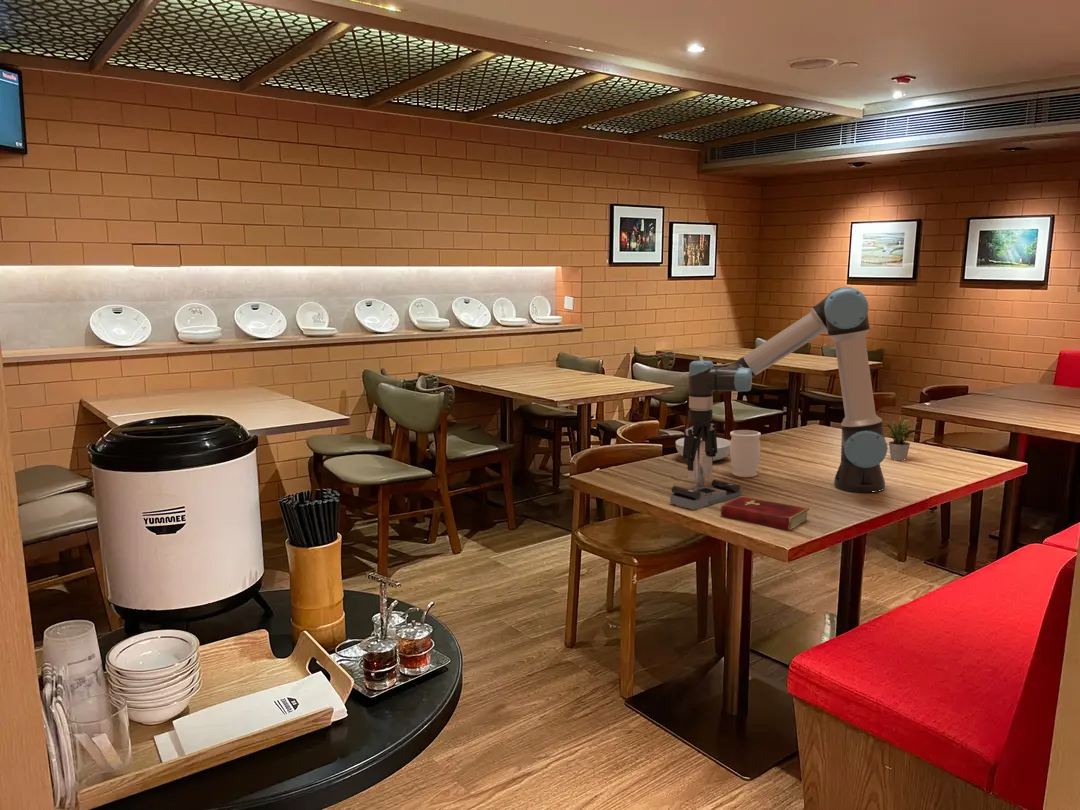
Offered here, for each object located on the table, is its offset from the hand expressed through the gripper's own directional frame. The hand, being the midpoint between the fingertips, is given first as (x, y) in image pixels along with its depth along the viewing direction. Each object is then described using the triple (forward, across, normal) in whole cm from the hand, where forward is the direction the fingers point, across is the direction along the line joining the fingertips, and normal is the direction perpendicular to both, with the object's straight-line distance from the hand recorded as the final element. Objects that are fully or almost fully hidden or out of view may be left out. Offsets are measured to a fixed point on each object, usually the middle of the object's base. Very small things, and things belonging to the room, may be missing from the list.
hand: (700, 477), depth 250 cm
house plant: (+4, -82, +24) cm, 86 cm away
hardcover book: (+4, +12, +33) cm, 35 cm away
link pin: (+4, 0, 0) cm, 4 cm away
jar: (+4, -25, -1) cm, 25 cm away
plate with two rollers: (+4, +9, +10) cm, 14 cm away
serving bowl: (+4, -33, -26) cm, 42 cm away
